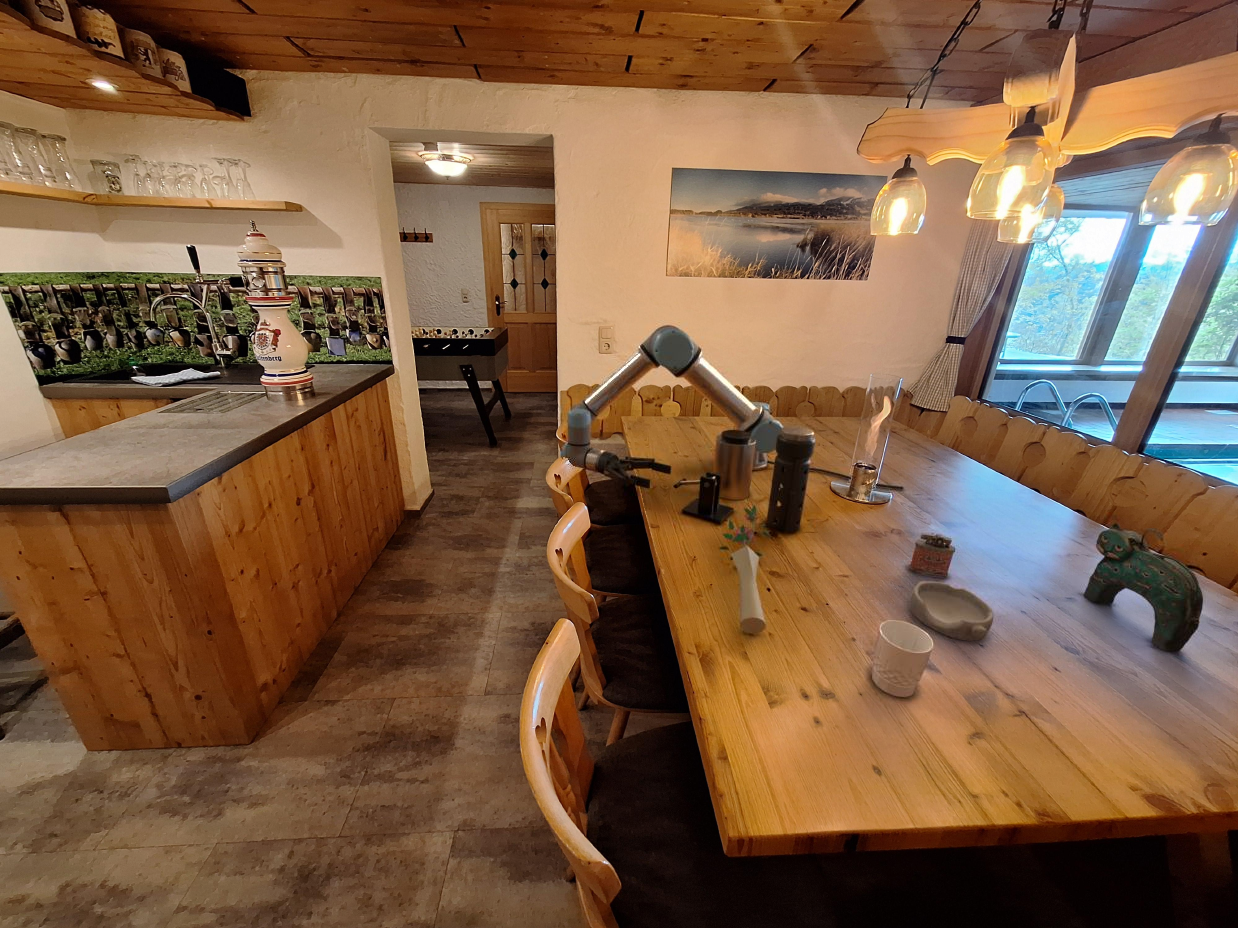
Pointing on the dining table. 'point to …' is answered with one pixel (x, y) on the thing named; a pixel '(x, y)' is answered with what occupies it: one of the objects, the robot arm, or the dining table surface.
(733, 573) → the dining table surface
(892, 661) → the white cup
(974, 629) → the dish
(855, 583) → the dining table surface
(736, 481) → the metal tumbler
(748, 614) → the flower vase
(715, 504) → the switch base
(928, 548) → the lighter
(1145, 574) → the ceramic cat
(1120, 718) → the dining table surface
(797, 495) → the muzzle brake
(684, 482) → the switch lever
